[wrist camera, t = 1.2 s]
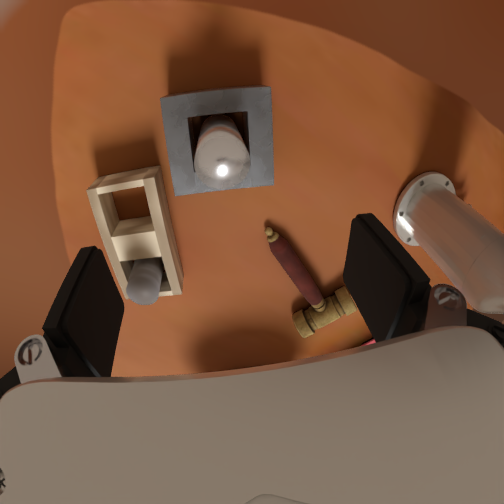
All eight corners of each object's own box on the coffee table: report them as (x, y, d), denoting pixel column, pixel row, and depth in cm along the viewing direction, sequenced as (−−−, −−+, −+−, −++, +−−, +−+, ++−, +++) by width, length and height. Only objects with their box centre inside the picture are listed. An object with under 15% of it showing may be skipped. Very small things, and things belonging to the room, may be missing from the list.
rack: (160, 165, 31) (148, 188, 25) (183, 274, 40) (180, 310, 34) (98, 177, 30) (76, 202, 25) (131, 280, 40) (121, 315, 34)
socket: (262, 84, 27) (270, 86, 23) (265, 169, 33) (274, 185, 29) (168, 94, 26) (160, 98, 22) (179, 178, 32) (175, 196, 28)
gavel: (234, 257, 36) (305, 215, 34) (233, 239, 40) (296, 201, 38) (306, 343, 46) (360, 314, 44) (301, 324, 50) (350, 297, 48)
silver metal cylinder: (235, 112, 29) (248, 133, 19) (238, 146, 31) (251, 186, 21) (198, 116, 28) (190, 140, 19) (202, 150, 31) (197, 192, 21)
